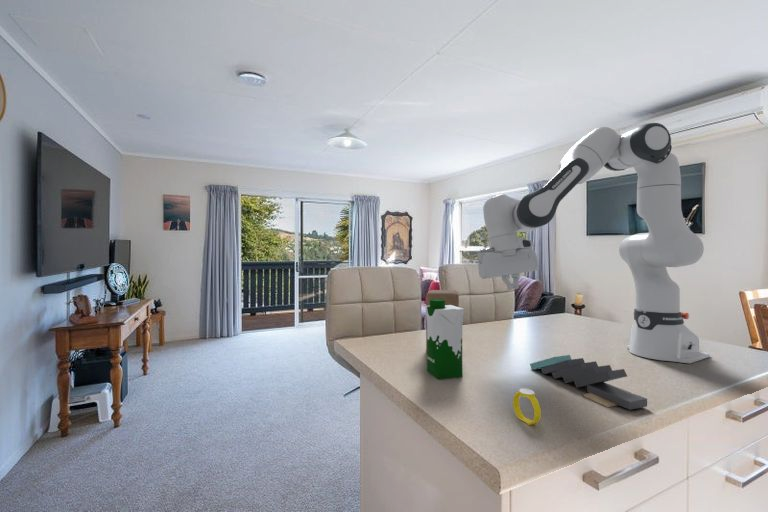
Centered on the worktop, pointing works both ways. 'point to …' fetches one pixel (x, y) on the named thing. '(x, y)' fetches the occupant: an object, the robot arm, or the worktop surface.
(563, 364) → the domino
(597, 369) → the domino
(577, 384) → the domino
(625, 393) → the domino
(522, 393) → the watch
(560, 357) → the domino
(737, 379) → the worktop surface
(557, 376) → the domino
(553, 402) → the worktop surface
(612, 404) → the coaster
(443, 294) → the block
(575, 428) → the worktop surface
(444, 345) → the milk carton
